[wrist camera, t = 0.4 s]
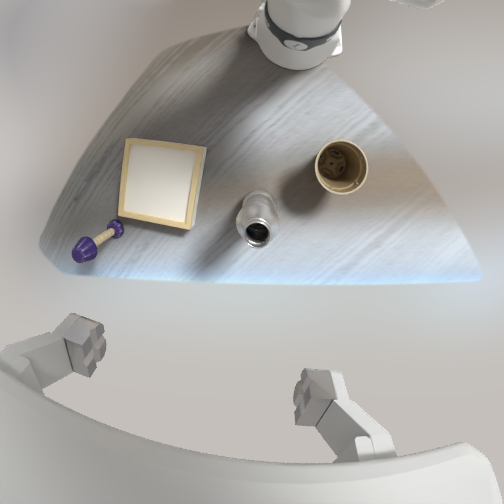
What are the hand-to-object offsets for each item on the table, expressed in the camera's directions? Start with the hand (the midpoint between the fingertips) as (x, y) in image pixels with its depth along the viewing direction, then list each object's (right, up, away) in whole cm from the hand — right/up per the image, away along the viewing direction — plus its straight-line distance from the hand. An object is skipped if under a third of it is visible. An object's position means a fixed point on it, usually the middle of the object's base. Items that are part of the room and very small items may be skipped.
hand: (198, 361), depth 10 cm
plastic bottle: (+4, +14, +45) cm, 47 cm away
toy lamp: (-28, +10, +48) cm, 57 cm away
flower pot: (+17, +21, +41) cm, 50 cm away
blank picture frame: (-16, +19, +44) cm, 50 cm away
